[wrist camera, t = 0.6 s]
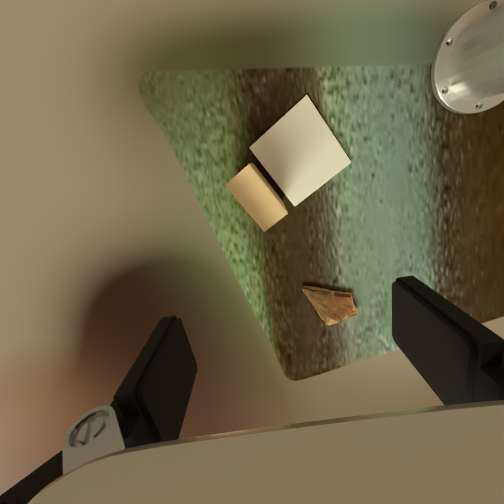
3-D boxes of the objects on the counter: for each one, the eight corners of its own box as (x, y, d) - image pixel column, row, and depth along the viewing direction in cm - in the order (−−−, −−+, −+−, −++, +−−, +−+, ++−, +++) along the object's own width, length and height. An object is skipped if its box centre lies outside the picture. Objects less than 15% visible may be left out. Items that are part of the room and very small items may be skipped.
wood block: (252, 162, 39) (248, 163, 30) (282, 200, 41) (287, 213, 32) (234, 178, 40) (225, 185, 31) (264, 215, 42) (264, 231, 33)
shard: (299, 283, 47) (301, 288, 46) (335, 264, 45) (338, 268, 44) (325, 322, 50) (327, 328, 49) (359, 306, 48) (363, 311, 47)
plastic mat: (306, 95, 35) (306, 94, 35) (350, 162, 38) (351, 162, 38) (249, 147, 38) (249, 147, 38) (294, 206, 41) (294, 206, 41)
